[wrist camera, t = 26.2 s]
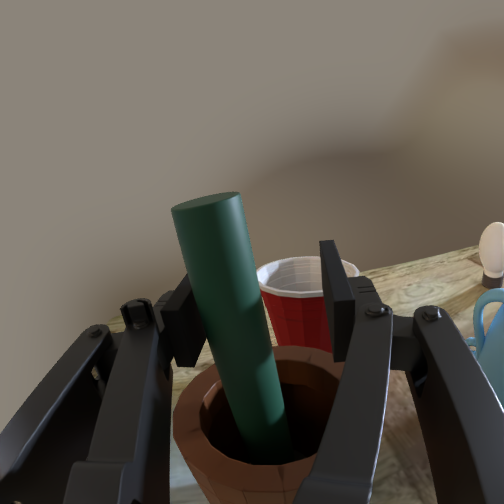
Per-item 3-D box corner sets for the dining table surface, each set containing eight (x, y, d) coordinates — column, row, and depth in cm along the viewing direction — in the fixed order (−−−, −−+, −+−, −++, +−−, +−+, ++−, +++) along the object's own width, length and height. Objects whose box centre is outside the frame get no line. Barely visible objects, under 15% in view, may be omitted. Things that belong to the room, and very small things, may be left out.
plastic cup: (369, 345, 37) (372, 254, 33) (333, 404, 29) (334, 302, 25) (294, 328, 43) (286, 245, 39) (247, 374, 35) (230, 282, 31)
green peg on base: (254, 525, 16) (125, 225, 10) (260, 480, 21) (172, 200, 14) (315, 523, 16) (257, 199, 9) (315, 478, 20) (268, 181, 13)
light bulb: (507, 279, 43) (514, 219, 39) (508, 296, 38) (518, 230, 35) (475, 274, 47) (481, 215, 44) (473, 290, 43) (481, 225, 39)
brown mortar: (213, 553, 15) (145, 478, 10) (234, 458, 24) (200, 347, 20) (354, 554, 13) (393, 481, 9) (348, 454, 22) (360, 338, 18)
